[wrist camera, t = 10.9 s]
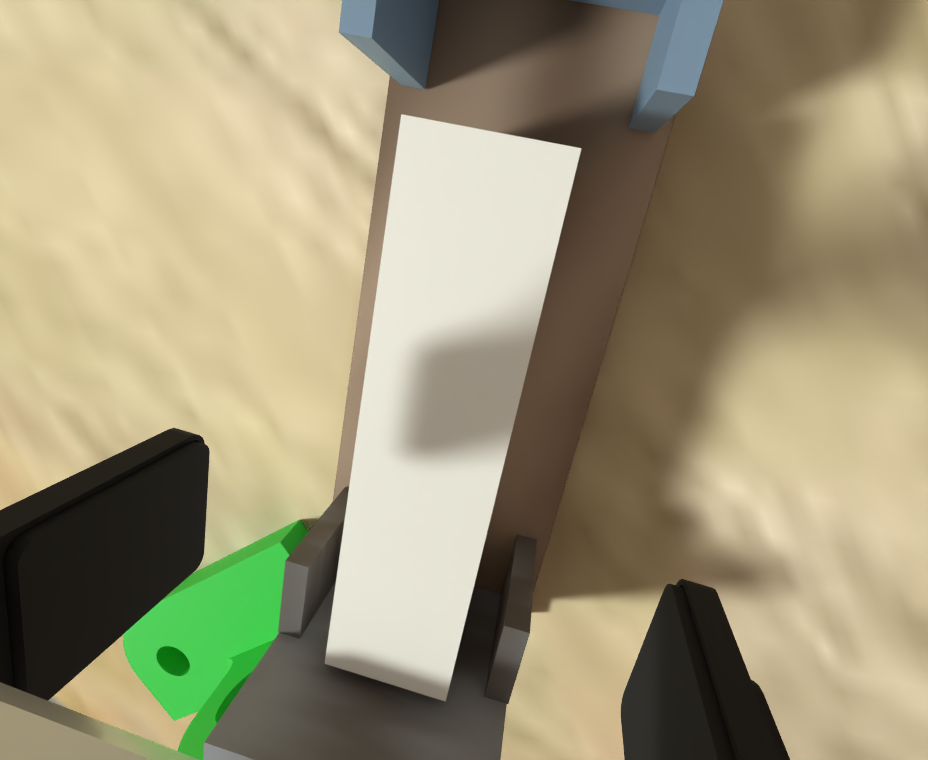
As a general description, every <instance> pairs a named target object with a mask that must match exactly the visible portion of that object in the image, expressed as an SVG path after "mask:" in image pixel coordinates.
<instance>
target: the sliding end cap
mask: <svg viewBox="0 0 928 760" xmlns="http://www.w3.org/2000/svg"><path fill="white" fill-rule="evenodd" d="M569 1H576V2H582V3H588V4H594V5H600V6H606V7H612V8H618V9H624V10H630V11H636V12H642V13H648V14H654V15H659V18H658V22H657V26H656V29H655V33H654V37H653V40H652V44H651V48H650V51H649V55H648V59H647V62H646V66H645V70H644V73H643V77H642V80H641V84H640V88H639V91H638V95H637V99H636V102H635V106H634V110H633V113H632V117H631V121H630V124H629V128H631V129H636V130H641V131H647V132H652V133H655V132H656V131H657V130H659V129H660V128H661V127H662V126H663V125H664V124H665V123H666V122H667V121H668V120H669V119H670V118H671V117H672V116H674V115H675V114H676V113H677V112H678V111H679V110H680V109H681V108H682V107H683V106H684V105H685V104H686V103H687V102H689V101H690V100H691V99H692V98H693V97H694V95H695V92H696V89H697V85H698V82H699V79H700V76H701V72H702V69H703V66H704V63H705V59H706V56H707V53H708V49H709V46H710V43H711V40H712V36H713V33H714V30H715V26H716V23H717V20H718V17H719V13H720V10H721V7H722V4H723V0H569ZM438 4H439V0H342V8H341V17H340V27H339V33H340V34H341V35H343V36H344V37H345V38H346V39H347V40H349V41H350V42H351V43H352V44H353V45H354V46H356V47H357V48H358V49H359V50H360V51H362V52H363V53H364V54H365V55H366V56H367V57H369V58H370V59H371V60H372V61H373V62H375V63H376V64H377V65H378V66H379V67H380V68H382V69H383V70H384V71H385V72H386V73H388V74H389V75H390V76H391V77H392V78H393V79H395V80H396V81H397V82H398V83H399V84H400V85H403V86H408V87H413V88H419V89H424V90H425V88H426V81H427V75H428V69H429V62H430V56H431V49H432V43H433V36H434V30H435V23H436V17H437V10H438Z"/></svg>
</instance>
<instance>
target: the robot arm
mask: <svg viewBox="0 0 928 760" xmlns="http://www.w3.org/2000/svg"><path fill="white" fill-rule="evenodd" d="M208 470H209V448H208V446H207V445H205V443H204V440H203V438H202V437H201V436H200V435H197V434H193V433H190V432H187V431H183V430H180V429H176V428H172V429H169V430H167V431H164V432H162V433H160V434H158V435H156V436H154V437H152V438H150V439H148V440H146V441H144V442H142V443H139V444H137V445H135V446H133V447H131V448H129V449H127V450H125V451H123V452H121V453H119V454H117V455H114V456H112V457H110V458H108V459H106V460H104V461H102V462H100V463H98V464H96V465H94V466H91V467H89V468H87V469H85V470H83V471H81V472H79V473H77V474H75V475H73V476H71V477H69V478H66V479H64V480H62V481H60V482H58V483H56V484H54V485H52V486H50V487H48V488H46V489H44V490H41V491H39V492H37V493H35V494H33V495H31V496H29V497H27V498H25V499H23V500H21V501H19V502H16V503H14V504H12V505H10V506H8V507H6V508H4V509H2V510H0V760H198V759H196V758H193V757H191V756H188V755H186V754H183V753H181V752H178V751H176V750H173V749H171V748H168V747H165V746H163V745H160V744H158V743H155V742H153V741H150V740H148V739H145V738H143V737H140V736H137V735H135V734H132V733H130V732H127V731H125V730H122V729H119V728H117V727H114V726H112V725H109V724H106V723H104V722H101V721H99V720H96V719H94V718H91V717H88V716H86V715H83V714H81V713H78V712H75V711H73V710H70V709H68V708H65V707H63V706H60V705H57V704H55V703H52V702H50V701H48V700H49V699H50V698H51V697H53V696H54V695H55V694H56V693H57V692H58V691H59V690H61V689H62V688H63V687H64V686H65V685H66V684H67V683H68V682H70V681H71V680H72V679H73V678H74V677H75V676H76V675H78V674H79V673H80V672H81V671H82V670H83V669H84V668H85V667H87V666H88V665H89V664H90V663H91V662H92V661H93V660H95V659H96V658H97V657H98V656H99V655H100V654H101V653H102V652H104V651H105V650H106V649H107V648H108V647H109V646H110V645H112V644H113V643H114V642H115V641H116V640H117V639H118V638H119V637H121V636H122V635H123V634H124V633H125V632H126V631H127V630H129V629H130V628H131V627H132V626H133V625H134V624H135V623H136V622H138V621H139V620H140V619H141V618H142V617H143V616H144V615H146V614H147V613H148V612H149V611H150V610H151V609H152V608H153V607H155V606H156V605H157V604H158V603H159V602H160V601H161V600H163V599H164V598H165V597H166V596H167V595H168V594H169V593H170V592H172V591H173V590H174V589H175V588H176V587H177V586H178V585H180V584H181V583H182V582H183V581H184V580H185V579H186V578H187V577H189V576H190V575H191V574H192V573H193V572H194V571H195V570H196V569H197V568H198V566H199V565H200V563H201V561H202V558H203V555H204V543H205V525H206V507H207V488H208ZM621 723H622V734H623V745H624V756H625V760H790V758H789V756H788V753H787V751H786V748H785V746H784V744H783V741H782V739H781V736H780V734H779V731H778V729H777V726H776V724H775V721H774V719H773V716H772V714H771V711H770V709H769V706H768V704H767V701H766V699H765V696H764V694H763V692H762V690H761V688H760V687H759V685H758V684H757V683H755V682H754V681H752V680H751V679H750V676H749V674H748V671H747V669H746V666H745V663H744V661H743V658H742V656H741V653H740V651H739V648H738V645H737V643H736V640H735V638H734V635H733V632H732V630H731V627H730V625H729V622H728V620H727V617H726V614H725V612H724V609H723V607H722V604H721V601H720V599H719V596H718V594H717V592H716V590H715V589H713V588H711V587H708V586H704V585H701V584H698V583H694V582H691V581H687V580H684V579H681V580H679V581H678V583H677V584H676V585H672V584H667V585H666V587H665V589H664V591H663V594H662V596H661V599H660V601H659V604H658V606H657V609H656V611H655V614H654V617H653V619H652V622H651V624H650V627H649V629H648V632H647V635H646V637H645V640H644V642H643V645H642V647H641V650H640V653H639V655H638V658H637V660H636V663H635V665H634V668H633V670H632V673H631V676H630V678H629V681H628V683H627V686H626V688H625V691H624V694H623V698H622V704H621Z"/></svg>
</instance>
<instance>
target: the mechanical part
mask: <svg viewBox="0 0 928 760" xmlns="http://www.w3.org/2000/svg"><path fill="white" fill-rule="evenodd" d="M307 533H308V530H307V529H306V527H305V526H304V524H303V523H302V522H301V520H298V521H296V522H294V523H292V524H290V525H288V526H286V527H284V528H282V529H280V530H278V531H276V532H274V533H272V534H270V535H268V536H266V537H264V538H262V539H260V540H258V541H256V542H254V543H252V544H250V545H248V546H246V547H244V548H242V549H240V550H238V551H236V552H234V553H232V554H230V555H229V556H227V557H225V558H223V559H221V560H219V561H217V562H215V563H213V564H211V565H209V566H207V567H205V568H203V569H201V570H199V571H197V572H195V573H193V574H191V575H190V576H189V577H187V578H186V579H185V580H184V581H183V582H182V583H181V584H180V585H178V586H177V587H176V588H175V589H174V590H173V591H172V592H170V593H169V594H168V595H167V596H166V597H165V598H164V599H163V600H161V601H160V602H159V603H158V604H157V605H156V606H155V607H153V608H152V609H151V610H150V611H149V612H148V613H147V614H146V615H144V616H143V617H142V618H141V619H140V620H139V621H138V622H136V623H135V624H134V625H133V626H132V627H131V628H130V629H129V630H127V631H126V632H125V633H124V636H123V644H124V650H125V654H126V657H127V659H128V662H129V663H130V665H131V667H132V669H133V670H134V672H135V673H136V675H137V676H138V677H139V678H140V680H141V681H142V682H143V683H144V684H145V686H146V687H147V688H148V689H149V691H150V692H151V693H152V694H153V696H154V697H155V698H156V699H157V700H158V702H159V703H160V704H161V705H162V707H163V708H164V709H165V710H166V711H167V713H168V714H169V715H170V716H171V718H172V719H173V720H174V721H175V720H177V719H180V718H182V717H185V716H188V715H190V714H193V713H195V712H198V711H199V712H198V713H197V715H196V716H195V717H194V719H193V720H192V722H191V723H190V725H189V727H188V728H187V730H186V732H185V734H184V736H183V738H182V740H181V742H180V745H179V748H178V752H181V753H183V754H186V755H188V756H191V757H193V758H196V759H198V760H203V755H204V742H205V740H206V739H207V737H208V736H209V734H210V733H211V732H212V730H213V729H214V727H215V726H216V724H217V723H218V721H219V720H220V718H221V717H222V715H223V714H224V713H225V711H226V710H227V708H228V707H229V705H230V704H231V702H232V701H233V699H234V698H235V696H236V695H237V694H238V692H239V691H240V689H241V688H242V686H243V685H244V683H245V682H246V680H247V679H248V677H249V676H250V675H251V673H252V672H253V670H254V669H255V667H256V666H257V664H258V663H259V661H260V660H261V658H262V657H263V656H264V654H265V653H266V651H267V650H268V648H269V647H270V645H271V644H272V642H273V641H274V639H275V638H276V636H277V635H278V634H279V632H278V626H279V617H280V607H281V598H282V588H283V579H284V569H285V560H286V559H287V558H288V557H289V556H290V554H291V553H292V552H293V551H294V549H295V548H296V547H297V546H298V544H299V543H300V542H301V541H302V539H303V538H304V537H305V536H306V535H307Z"/></svg>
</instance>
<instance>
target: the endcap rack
mask: <svg viewBox="0 0 928 760" xmlns="http://www.w3.org/2000/svg"><path fill="white" fill-rule="evenodd" d="M658 18H659V15H654V14H648V13H642V12H636V11H630V10H624V9H618V8H612V7H606V6H600V5H594V4H588V3H582V2H576V1H569V0H439V4H438V10H437V17H436V23H435V30H434V36H433V43H432V49H431V56H430V62H429V69H428V75H427V81H426V88H425V90H424V89H419V88H413V87H408V86H403V85H400V84H399V83H398V82H397V81H396V80H395V79H393V78H392V77H391V76H390V80H389V87H388V95H387V102H386V110H385V117H384V124H383V132H382V139H381V147H380V154H379V162H378V169H377V176H376V184H375V191H374V199H373V206H372V214H371V221H370V229H369V236H368V243H367V251H366V258H365V266H364V273H363V281H362V288H361V295H360V303H359V310H358V318H357V325H356V333H355V340H354V347H353V355H352V362H351V370H350V377H349V385H348V392H347V400H346V407H345V414H344V422H343V429H342V437H341V444H340V452H339V459H338V466H337V474H336V481H335V489H334V496H333V502H332V504H331V505H330V506H329V507H328V509H327V510H326V511H325V512H324V514H323V515H322V516H321V517H320V518H319V520H318V521H317V522H316V523H315V525H314V526H313V527H312V528H311V530H310V531H309V532H308V533H307V535H306V536H305V537H304V538H303V539H302V541H301V542H300V543H299V544H298V546H297V547H296V548H295V549H294V551H293V552H292V553H291V554H290V556H289V557H288V558H287V559H286V560H285V569H284V579H283V588H282V598H281V607H280V617H279V626H278V632H279V634H278V635H277V636H276V638H275V639H274V641H273V642H272V644H271V645H270V647H269V648H268V650H267V651H266V653H265V654H264V656H263V657H262V658H261V660H260V661H259V663H258V664H257V666H256V667H255V669H254V670H253V672H252V673H251V675H250V676H249V677H248V679H247V680H246V682H245V683H244V685H243V686H242V688H241V689H240V691H239V692H238V694H237V695H236V696H235V698H234V699H233V701H232V702H231V704H230V705H229V707H228V708H227V710H226V711H225V713H224V714H223V715H222V717H221V718H220V720H219V721H218V723H217V724H216V726H215V727H214V729H213V730H212V732H211V733H210V734H209V736H208V737H207V739H206V740H205V742H204V755H203V760H500V757H501V749H502V740H503V731H504V722H505V713H506V704H508V703H509V699H510V696H511V693H512V690H513V686H514V683H515V680H516V676H517V673H518V670H519V667H520V663H521V660H522V657H523V653H524V650H525V647H526V644H527V640H528V637H529V634H530V622H531V609H532V596H533V591H534V588H535V584H536V581H537V578H538V574H539V571H540V567H541V564H542V561H543V557H544V554H545V551H546V547H547V544H548V541H549V537H550V534H551V531H552V527H553V524H554V520H555V517H556V514H557V510H558V507H559V504H560V500H561V497H562V494H563V490H564V487H565V484H566V480H567V477H568V474H569V470H570V467H571V463H572V460H573V457H574V453H575V450H576V447H577V443H578V440H579V437H580V433H581V430H582V427H583V423H584V420H585V416H586V413H587V410H588V406H589V403H590V400H591V396H592V393H593V390H594V386H595V383H596V380H597V376H598V373H599V369H600V366H601V363H602V359H603V356H604V353H605V349H606V346H607V343H608V339H609V336H610V333H611V329H612V326H613V322H614V319H615V316H616V312H617V309H618V306H619V302H620V299H621V296H622V292H623V289H624V286H625V282H626V279H627V275H628V272H629V269H630V265H631V262H632V259H633V255H634V252H635V249H636V245H637V242H638V239H639V235H640V232H641V228H642V225H643V222H644V218H645V215H646V212H647V208H648V205H649V202H650V198H651V195H652V192H653V188H654V185H655V181H656V178H657V175H658V171H659V168H660V165H661V161H662V158H663V155H664V151H665V148H666V145H667V141H668V138H669V135H670V131H671V128H672V124H673V121H674V118H675V115H674V116H672V117H671V118H670V119H669V120H668V121H667V122H666V123H665V124H664V125H663V126H662V127H661V128H660V129H659V130H657V131H656V132H655V133H652V132H647V131H641V130H636V129H631V128H629V124H630V121H631V117H632V113H633V110H634V106H635V102H636V99H637V95H638V91H639V88H640V84H641V80H642V77H643V73H644V70H645V66H646V62H647V59H648V55H649V51H650V48H651V44H652V40H653V37H654V33H655V29H656V26H657V22H658ZM401 114H403V115H408V116H413V117H419V118H424V119H429V120H434V121H440V122H445V123H450V124H456V125H461V126H466V127H471V128H477V129H482V130H487V131H492V132H498V133H503V134H508V135H514V136H519V137H524V138H529V139H535V140H540V141H545V142H550V143H556V144H561V145H566V146H572V147H577V148H581V152H580V156H579V160H578V164H577V169H576V173H575V177H574V181H573V185H572V189H571V193H570V197H569V201H568V205H567V209H566V213H565V217H564V222H563V226H562V230H561V234H560V238H559V242H558V246H557V250H556V254H555V258H554V262H553V266H552V270H551V274H550V279H549V283H548V287H547V291H546V295H545V299H544V303H543V307H542V311H541V315H540V319H539V323H538V327H537V331H536V336H535V340H534V344H533V348H532V352H531V356H530V360H529V364H528V368H527V372H526V376H525V380H524V384H523V389H522V393H521V397H520V401H519V405H518V409H517V413H516V417H515V421H514V425H513V429H512V433H511V437H510V441H509V446H508V450H507V454H506V458H505V462H504V466H503V470H502V474H501V478H500V482H499V486H498V490H497V494H496V499H495V503H494V507H493V511H492V515H491V519H490V523H489V527H488V531H487V535H486V539H485V543H484V547H483V551H482V556H481V560H480V564H479V568H478V572H477V576H476V580H475V584H474V588H473V592H472V596H471V600H470V604H469V608H468V613H467V617H466V621H465V625H464V629H463V633H462V637H461V641H460V645H459V649H458V653H457V657H456V661H455V666H454V670H453V674H452V678H451V682H450V686H449V690H448V694H447V698H446V702H445V701H442V700H439V699H436V698H433V697H429V696H426V695H423V694H420V693H417V692H414V691H410V690H407V689H404V688H401V687H398V686H394V685H391V684H388V683H385V682H382V681H378V680H375V679H372V678H369V677H366V676H363V675H359V674H356V673H353V672H350V671H347V670H343V669H340V668H337V667H334V666H331V665H327V664H325V657H326V649H327V642H328V635H329V628H330V621H331V614H332V606H333V599H334V592H335V585H336V578H337V571H338V563H339V556H340V549H341V542H342V535H343V528H344V521H345V513H346V506H347V499H348V492H349V485H350V478H351V470H352V463H353V456H354V449H355V442H356V435H357V427H358V420H359V413H360V406H361V399H362V392H363V384H364V377H365V370H366V363H367V356H368V349H369V342H370V334H371V327H372V320H373V313H374V306H375V299H376V291H377V284H378V277H379V270H380V263H381V256H382V248H383V241H384V234H385V227H386V220H387V213H388V206H389V198H390V191H391V184H392V177H393V170H394V163H395V155H396V148H397V141H398V134H399V127H400V120H401Z"/></svg>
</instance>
